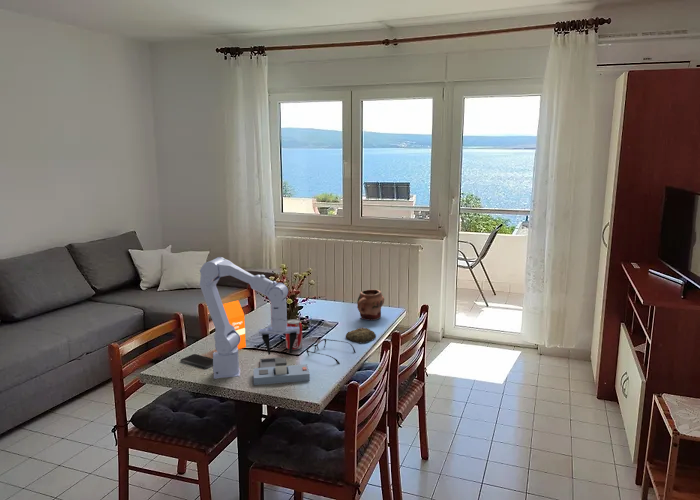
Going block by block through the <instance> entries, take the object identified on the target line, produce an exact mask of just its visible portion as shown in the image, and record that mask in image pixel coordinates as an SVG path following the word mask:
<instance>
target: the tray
mask: <svg viewBox="0 0 700 500" xmlns="http://www.w3.org/2000/svg"><path fill="white" fill-rule="evenodd" d="M275 358H276V357H268V358H259V368H264V367H275ZM278 358H284V357H278Z"/></svg>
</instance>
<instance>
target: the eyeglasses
mask: <svg viewBox="0 0 700 500" xmlns="http://www.w3.org/2000/svg"><path fill="white" fill-rule="evenodd" d="M323 341H324V346H323V348H325V347H326V344H327V341H331V342H333V341H334V342H337V340H335V339H329V338H323V339H321V340H319V341H318V342H317V343H316V344H313V345H311V346H308V348H307V349H306V351H305V353H307V356H310V353H312V354H317V355H323V356H327V357H330V358H332V359H334V361H335V362H336V364H338V365H340V364H341V363H340V361H339V360H338V359H337V358H335V357H333V356H331V355H328V354H324V353H320V352H316V350H319V344H320V343H321V342H323ZM339 342H341V343H344V341H342V340H339ZM345 343H347V344H349V345H350V346H351V347H352V350H353V353H355V354H356V350H355V348H354V346H353V345H352V344H351V343H349V342H347V341H345ZM312 347H314V352H313V351H309V349H310V348H312Z"/></svg>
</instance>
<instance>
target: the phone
mask: <svg viewBox="0 0 700 500" xmlns="http://www.w3.org/2000/svg"><path fill="white" fill-rule="evenodd" d="M180 363H183V364H186V365H189V366H193V367H197V368H200V369H203V370H208V369H210V368H213V357H212V358H211V357H208V356H205V355H200V354H197V353H194V354H190V355H188V356H186V357H183V358H180Z"/></svg>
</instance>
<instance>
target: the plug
mask: <svg viewBox="0 0 700 500" xmlns="http://www.w3.org/2000/svg"><path fill="white" fill-rule="evenodd" d="M274 358H275V375H283V374H287V366H288V365H287V357H283V358H279V357H274Z"/></svg>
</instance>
